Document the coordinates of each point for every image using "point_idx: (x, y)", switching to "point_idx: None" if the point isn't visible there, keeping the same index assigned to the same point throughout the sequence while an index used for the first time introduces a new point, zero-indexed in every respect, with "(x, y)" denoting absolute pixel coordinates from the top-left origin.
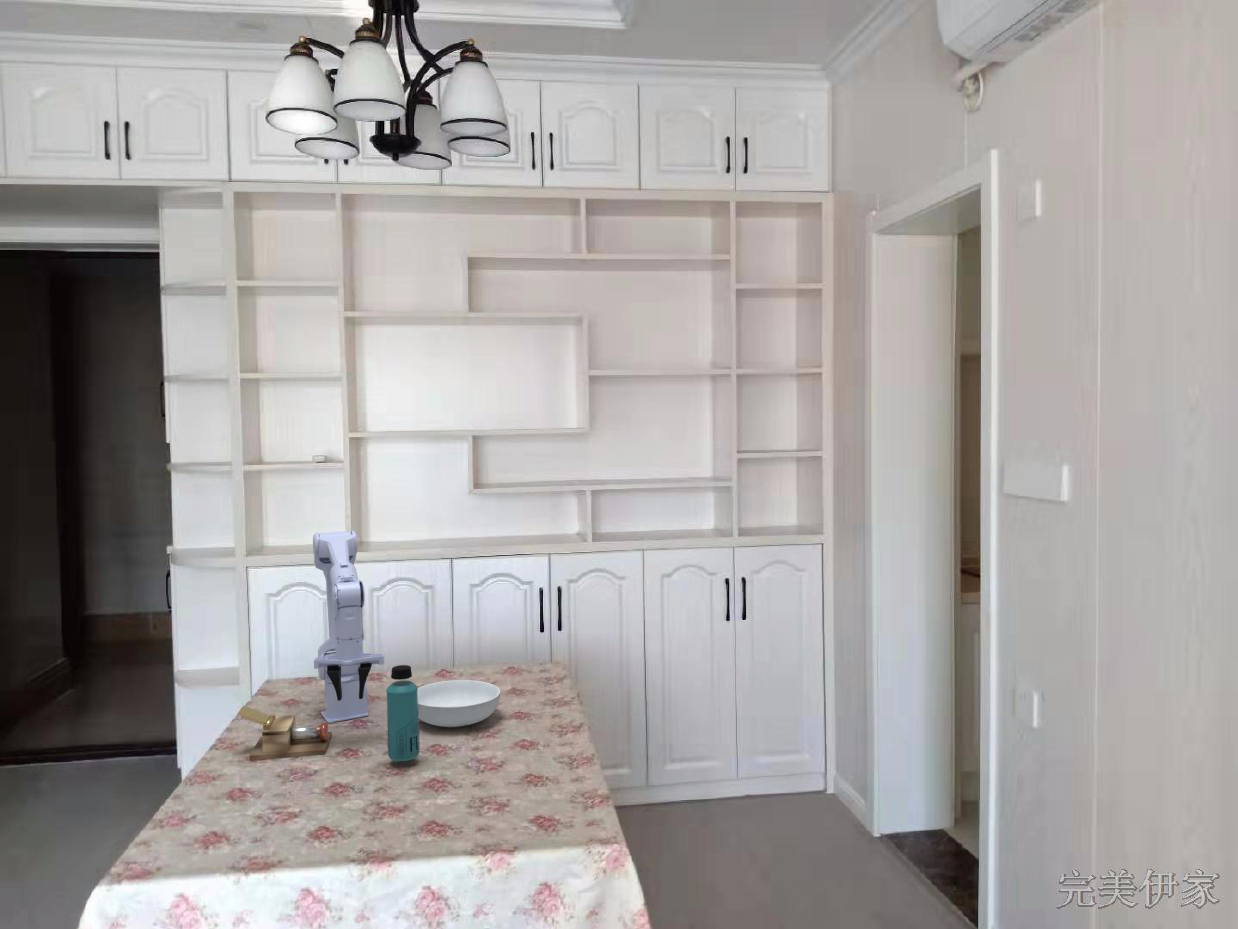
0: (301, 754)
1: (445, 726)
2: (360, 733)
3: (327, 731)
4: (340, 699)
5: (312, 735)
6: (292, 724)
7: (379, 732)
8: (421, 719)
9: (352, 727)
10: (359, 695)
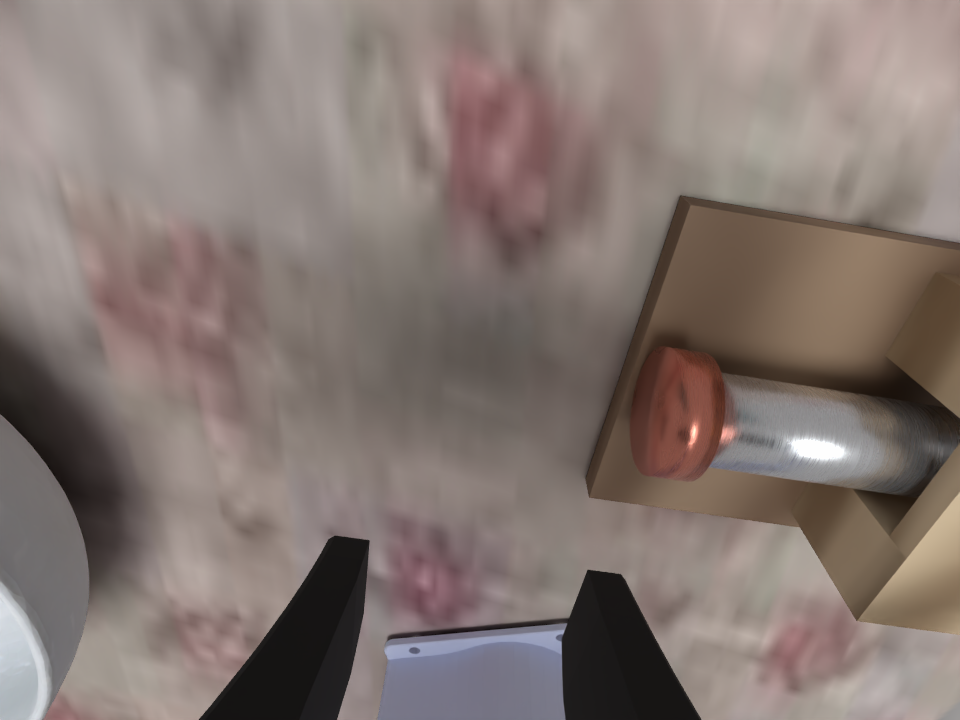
0: (844, 225)
1: None
2: (427, 463)
3: (646, 419)
4: (594, 581)
5: (763, 384)
6: (907, 515)
7: (319, 441)
8: (12, 432)
9: (467, 548)
10: (350, 573)
